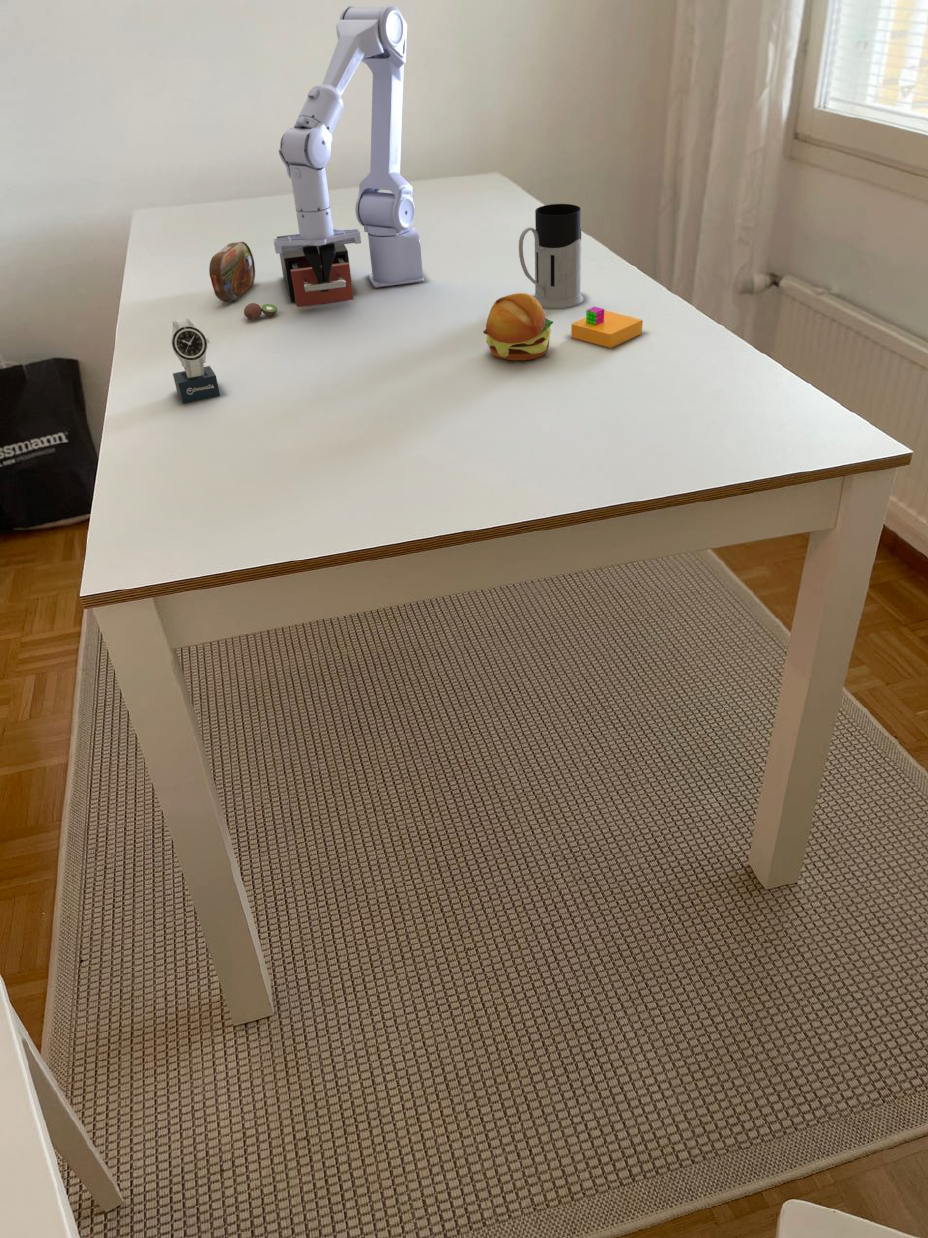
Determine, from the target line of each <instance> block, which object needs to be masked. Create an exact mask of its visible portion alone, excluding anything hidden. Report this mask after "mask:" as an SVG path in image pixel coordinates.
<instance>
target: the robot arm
mask: <svg viewBox="0 0 928 1238" xmlns="http://www.w3.org/2000/svg"><path fill="white" fill-rule="evenodd" d="M335 29H336V36H337V43H336V45H335V48H334V50H333V53H332V55H331V59H330V61H329V64H328V67H327V69H326V72H325V75H324V77H323V80H322V82H321V84H319V85H314V86H313V87H312V88H311V89H309V91H308V93H307V98H306V100H305V102H304V104H303V106H302V109H301V111H300V112H299V115H298V117H297V119H296V121H295V123H294V126H293V127H290V128H289V129H287V130H286V131H285V132H284V133H283V134H282V136H281V138H280V143H279V149H278V155H279V157H280V160H281V161H282V163H283V165H284V166H285V168H286V173H287V176H288V178H289V179H290V180H291V187H292V193H293V194H292V195H293V200H294V201H293V202H294V206H295V214H296V221H297V227H298V233H297V234H298V235H295V234H292V235H293V236H288V237H284V238H278V239H277V238H273V246H274V252H275V254H276V255H277V254H279V253H282V252H285V251H293V250H301V249H302V250H303V253H304V255H305V257H306V259H307V260H308V262H309V264H310V265H311V267H312V269H313V271H314V273H315V275H316V277H317V280H318V283H322V282H329V278H330V272H331V267H332V263H333V260H334V257H335V254H336V250H335V246H334V245H342V244H344V245H349V244H355V245H358V244H359V245H360V244H362V236H361V231H360V229H359V228H353V229H334V225H333V216H332V209H331V203H330V196H329V185H328V179H327V172H326V171H327V169H326V166H327V164H328V162H329V161H330V160H331V155H332V142H333V132H334V130H335V128H336V126H337V124H338V121H339V119H340V117H341V115H342V112H343V111H344V108H345V107H344V101H343V98H342V96H343V94H344V92H345V90H346V88H347V87H348V85H349V83H350V81H351V80H352V78H353V76H354V74H355V72H356V71H357V69H358V67H359V65H360V64H361V62H362V63H363V64H365V65H366V66H367V68H368V69H369V70H370V72H371V73H372V84H371V85H372V89H371V91H372V92H371V127H370V164H369V165H370V168H369V173H368V174H367V175H366V176H365V177H364V178H363V179H362V180H361V181H360V182H359V184H358V186H359V187H358V189H359V190H358V195H357V198H356V201H355V208H354V209H355V216H356V220H357V221H358V224H359V225H360V226H362V227H363V232H364V233H367V238H368V249H369V258H370V266H371V272H370V273H367V276H368V278H369V280H370V282H371V284H372V286H373V288H383V287H391V286H399V285H406V284H415V283H421V282H424V281H425V278H424V270H423V257H422V245H421V241H420V240H421V239H420V238H421V237H420V234H419V231H418V229H417V228H416V227H412V225H413V224H414V221H415V216H416V207H415V203H414V200H413V199H414V198H413V189H414V188H413V186H412V185H411V184H410V183H409V182H408V181H407V180H406V179H405V178H404V177H403V176H402V175H401V159H402V158H401V157H402V128H403V105H404V104H403V103H404V80H405V79H404V76H405V64H406V59H407V36H408V35H407V33H408V24H407V22H406V20H405V18H404V16H403V14H402V13H401V11H400V10H399V8H398V7H397V6H395V5H387V6H355V5H354V6H352V5H348V6H346V7H345V8H344V9H343V10H342V11H341V13H340V16H339V20H338V22H337V23H336V25H335ZM382 191H389V192H382ZM317 248H319V253H318V249H317ZM319 254H320V255H319ZM320 260H321V264H320ZM321 266H322V272H321ZM320 291H321V292H327V291H329V289H326V290H320Z"/></svg>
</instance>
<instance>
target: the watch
mask: <svg viewBox="0 0 928 1238" xmlns="http://www.w3.org/2000/svg"><path fill="white" fill-rule="evenodd" d="M210 343H211V342H210V339H209V337H206V335H205V333H203V331H201V330H200V328H199V327H198V326H197V324H196V323H195V322H192V320H191V319H190V318H184V319H178V320H173V321H172V335H171V348H172V351H173V353H174V354H175V356H176V357H177V358H178V361H180V363H181V366H182V367H183V368H184V370H182V371H178V372H172V377H173V381H174V385H175V389H176V392H177V395H178V397H179V399H180V401H181V402H182V404H187V403H188V404H189V403H193V402H197V401H202V400H206V399H210V398H215V397H220V396H221V392H220V388H219V383H218V379H217V375H216V373H215V372H214V370H213V369H212V367H211V366H210V365H207V366H204V365H205V364H206V361H207V350H208V345H210Z"/></svg>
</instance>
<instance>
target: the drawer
mask: <svg viewBox="0 0 928 1238" xmlns="http://www.w3.org/2000/svg"><path fill="white" fill-rule="evenodd" d="M320 264H321V260H320ZM289 265H290V272H291V278H292V283H293V288H294V295H295V301H296V302H295V306H296V307H297V308H300V307H307V306H315V305H322V304H330V303H337V302H345V301H352V300H354V299H355V298H354V291H353V282H352V274H351V266H350V262H349V263H348V262H347V263H344V261H343V259H342V257H341V255H339V256H335V257H334V260H333V263H332V267H331V272H330V278H329V282H322V283H318V280H317V277H316V275H315V273H314V271H313V269H312V267H311V265H310V264H309V262H308V260H299V261H291V262H289ZM321 272H322V266H321ZM326 289H329V291H327V292H321V291H320V290H326Z"/></svg>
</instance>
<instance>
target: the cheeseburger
mask: <svg viewBox="0 0 928 1238" xmlns="http://www.w3.org/2000/svg"><path fill="white" fill-rule="evenodd" d="M553 324H554V321H553V320H550V319H548V318H547V317H546V313H545V310H544V307H542V306H541V304H540V303H539V302H538V301H537V299H535V298H534V296H533V295H531V294H529V293H524V292H517V293H512V294H509V295H504V296H501V297H500V298H497V299H495V301H494V303H493V304H492V306H491V308H490V311H489V313H488V317H487V320H486V323H485V329H484V330H483V331H482V333H483V334H484V335H486V339H485V343H486V344H487V346H488V347H489V350H490V352H491V353H492V355H493V356H494V357H498V358H500V359H503V360H508V361H529V360H534V359H537V358H540V357H543V356H544V355H545V354H547V352H548V351H549V347H550V340H551V339H550V338H551V333H552V328H551V325H553Z"/></svg>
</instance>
